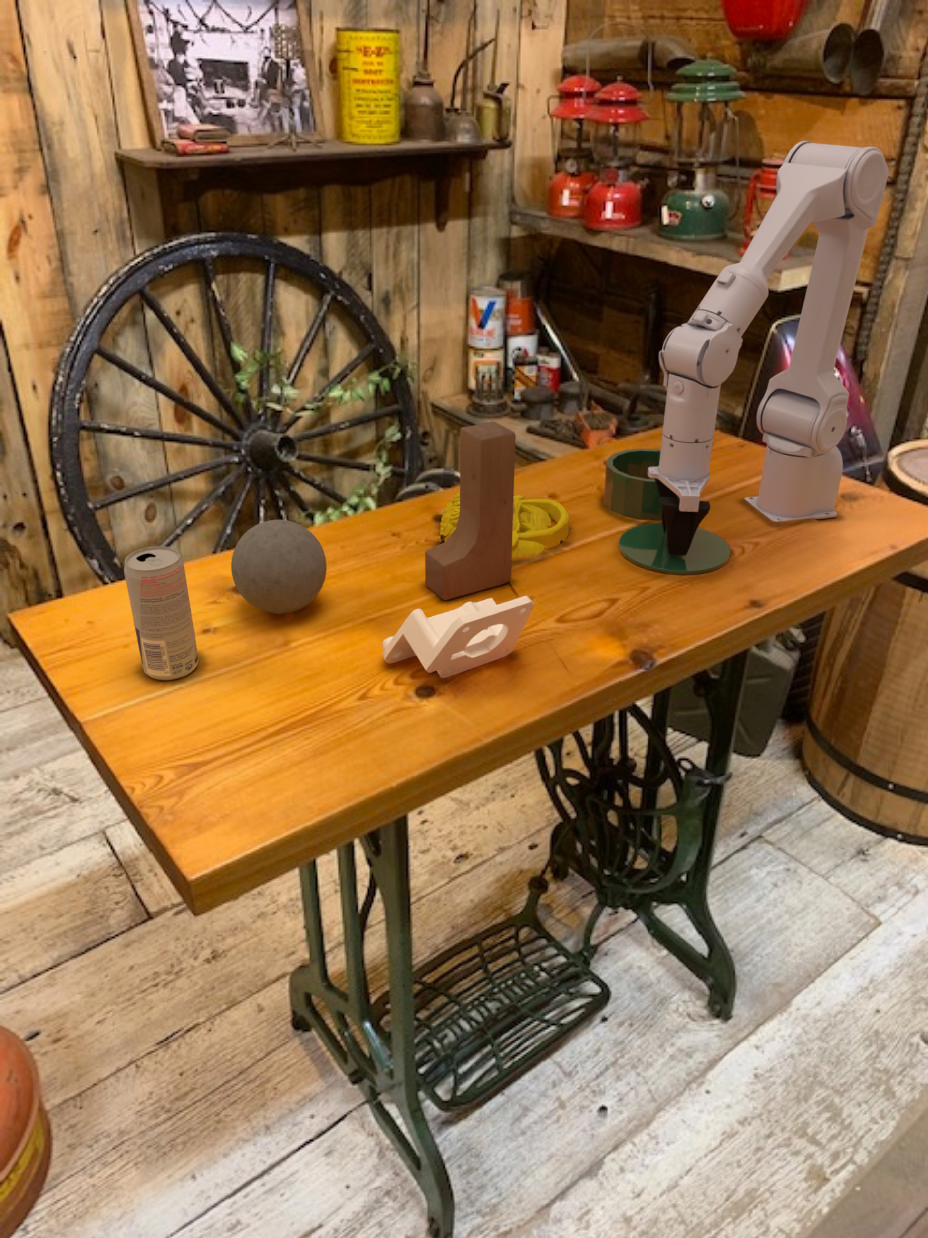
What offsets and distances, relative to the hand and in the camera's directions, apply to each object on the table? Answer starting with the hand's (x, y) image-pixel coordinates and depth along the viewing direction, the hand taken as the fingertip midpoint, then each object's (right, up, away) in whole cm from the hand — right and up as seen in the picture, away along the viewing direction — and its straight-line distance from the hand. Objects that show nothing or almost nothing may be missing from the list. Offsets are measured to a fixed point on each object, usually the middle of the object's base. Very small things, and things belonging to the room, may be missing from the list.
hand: (674, 542), depth 118 cm
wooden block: (-25, -5, -6) cm, 26 cm away
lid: (0, -1, 0) cm, 1 cm away
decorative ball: (-45, -8, -11) cm, 47 cm away
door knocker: (-20, +2, +6) cm, 21 cm away
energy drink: (-54, -14, -21) cm, 60 cm away
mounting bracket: (-26, -14, -21) cm, 36 cm away
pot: (-1, +6, +13) cm, 14 cm away
